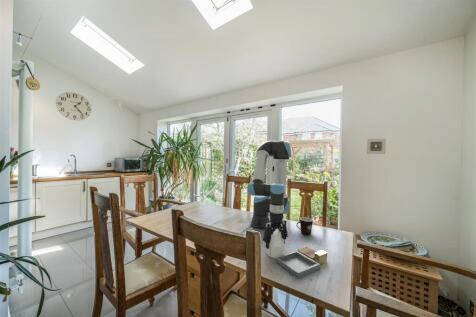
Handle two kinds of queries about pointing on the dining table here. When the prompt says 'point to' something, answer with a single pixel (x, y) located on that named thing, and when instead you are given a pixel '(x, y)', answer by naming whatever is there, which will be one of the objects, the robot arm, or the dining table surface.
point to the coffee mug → (305, 225)
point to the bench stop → (320, 257)
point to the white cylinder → (276, 244)
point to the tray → (297, 264)
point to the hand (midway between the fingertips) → (275, 251)
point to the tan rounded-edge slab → (307, 252)
